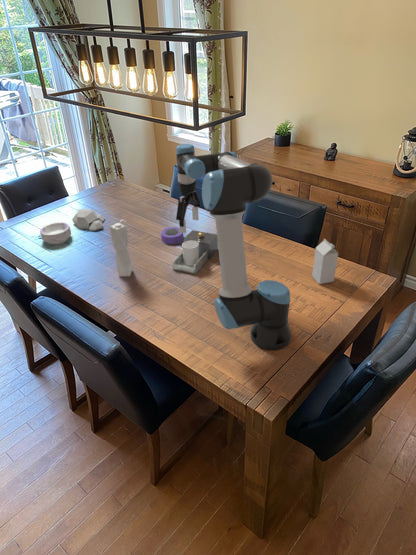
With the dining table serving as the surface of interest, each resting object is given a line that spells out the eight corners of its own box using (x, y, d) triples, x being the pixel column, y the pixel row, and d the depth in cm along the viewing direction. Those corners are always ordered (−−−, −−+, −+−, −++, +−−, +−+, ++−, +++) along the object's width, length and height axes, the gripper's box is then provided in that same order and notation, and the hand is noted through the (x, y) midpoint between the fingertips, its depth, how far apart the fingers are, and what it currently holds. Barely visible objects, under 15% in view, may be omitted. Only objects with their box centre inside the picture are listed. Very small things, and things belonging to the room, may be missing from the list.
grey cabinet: (197, 275, 194) (196, 255, 188) (171, 269, 199) (169, 249, 193) (218, 249, 214) (217, 230, 208) (193, 245, 219) (192, 226, 212)
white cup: (190, 256, 207) (189, 238, 201) (202, 261, 203) (202, 243, 197) (179, 263, 202) (178, 245, 196) (192, 268, 198) (191, 250, 192)
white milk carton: (319, 284, 186) (324, 247, 175) (311, 276, 191) (316, 239, 181) (333, 282, 187) (340, 244, 177) (325, 273, 193) (331, 237, 182)
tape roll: (171, 247, 217) (171, 239, 215) (157, 240, 224) (156, 232, 221) (188, 239, 224) (187, 231, 222) (173, 232, 231) (172, 224, 228)
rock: (104, 217, 250) (101, 202, 245) (107, 231, 234) (104, 216, 229) (73, 221, 246) (69, 206, 241) (74, 237, 230) (70, 221, 225)
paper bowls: (38, 241, 227) (35, 228, 223) (64, 232, 235) (61, 219, 231) (50, 251, 218) (47, 237, 213) (77, 241, 226) (74, 228, 221)
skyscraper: (136, 269, 201) (128, 216, 185) (133, 279, 194) (124, 224, 179) (118, 269, 201) (109, 216, 186) (115, 279, 194) (105, 224, 179)
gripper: (182, 193, 169) (185, 239, 181) (206, 172, 188) (207, 216, 200) (165, 190, 171) (169, 236, 183) (191, 171, 190) (193, 213, 202)
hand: (189, 225), depth 191 cm, fingers open, 13 cm apart
